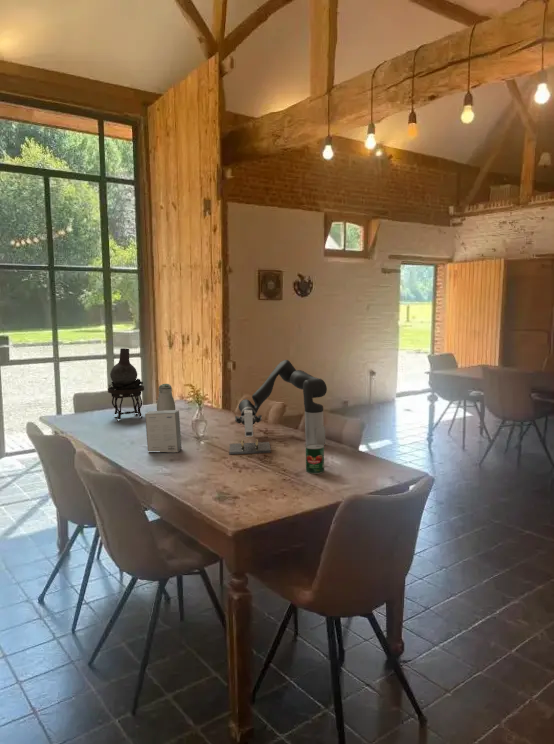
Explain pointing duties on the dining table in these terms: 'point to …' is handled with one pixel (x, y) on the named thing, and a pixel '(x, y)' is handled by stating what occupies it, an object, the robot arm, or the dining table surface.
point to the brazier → (125, 383)
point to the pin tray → (249, 448)
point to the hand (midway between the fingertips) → (248, 422)
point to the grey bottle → (165, 398)
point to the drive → (248, 423)
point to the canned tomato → (314, 458)
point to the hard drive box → (163, 431)
